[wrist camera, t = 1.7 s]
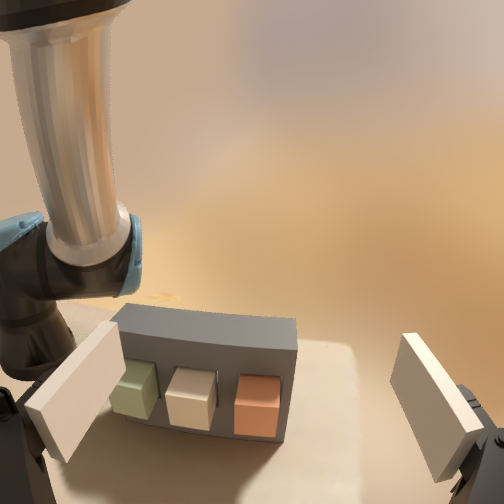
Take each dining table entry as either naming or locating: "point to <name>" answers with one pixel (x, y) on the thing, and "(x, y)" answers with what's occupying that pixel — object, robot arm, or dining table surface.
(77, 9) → the robot arm
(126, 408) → the sage button
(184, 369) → the ivory button
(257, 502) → the dining table surface
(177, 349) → the console
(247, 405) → the terracotta button
